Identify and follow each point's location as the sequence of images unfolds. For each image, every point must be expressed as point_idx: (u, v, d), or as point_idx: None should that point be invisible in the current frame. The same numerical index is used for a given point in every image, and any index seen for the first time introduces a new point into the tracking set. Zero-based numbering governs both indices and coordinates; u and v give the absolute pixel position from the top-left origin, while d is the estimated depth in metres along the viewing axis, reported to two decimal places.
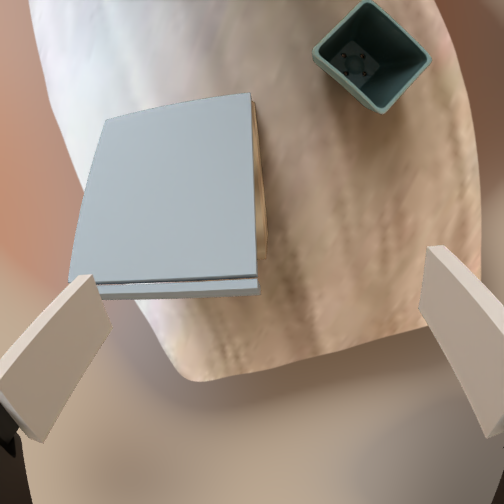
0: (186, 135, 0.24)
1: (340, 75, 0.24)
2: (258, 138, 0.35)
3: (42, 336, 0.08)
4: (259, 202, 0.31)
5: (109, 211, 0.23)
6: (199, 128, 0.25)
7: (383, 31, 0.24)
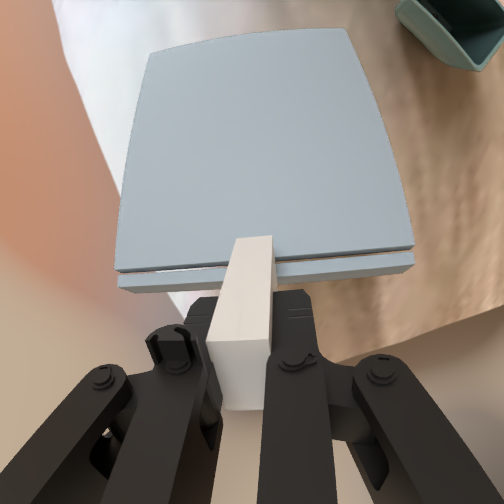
0: (277, 67, 0.17)
1: (438, 24, 0.16)
2: None
3: None
4: None
5: (175, 161, 0.16)
6: (293, 60, 0.17)
7: None
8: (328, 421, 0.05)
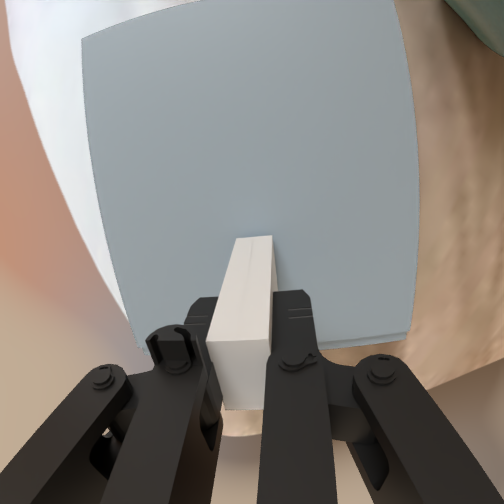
0: (286, 80, 0.11)
1: None
2: None
3: None
4: None
5: (166, 245, 0.14)
6: (310, 65, 0.11)
7: None
8: (328, 421, 0.05)
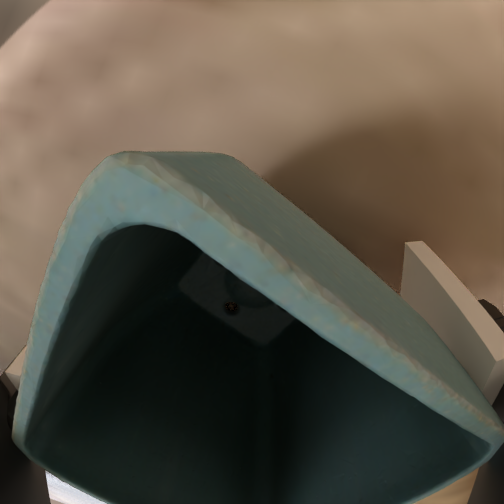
0: None
1: None
2: None
3: None
4: None
5: None
6: None
7: (101, 323, 0.07)
8: None
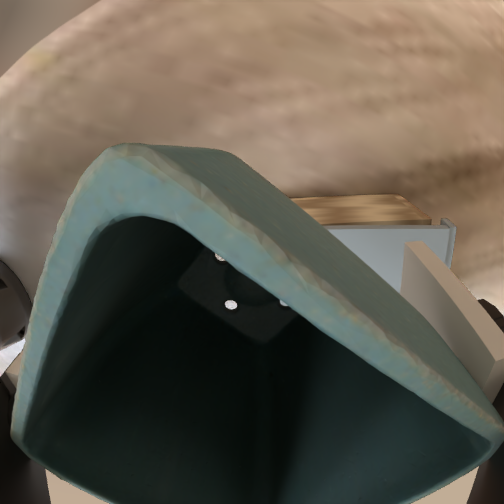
0: None
1: None
2: None
3: None
4: (363, 222, 0.23)
5: None
6: None
7: (101, 320, 0.07)
8: None
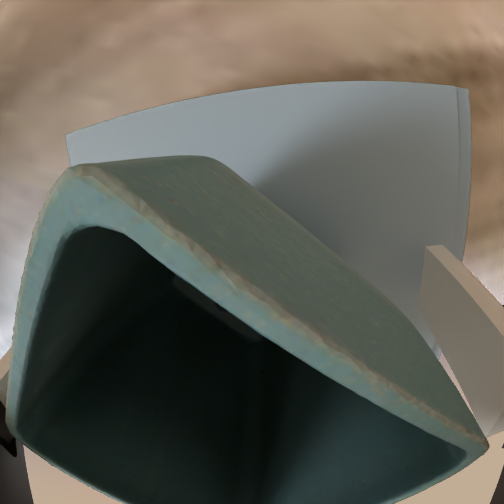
0: None
1: None
2: None
3: None
4: None
5: None
6: None
7: (91, 315, 0.07)
8: None
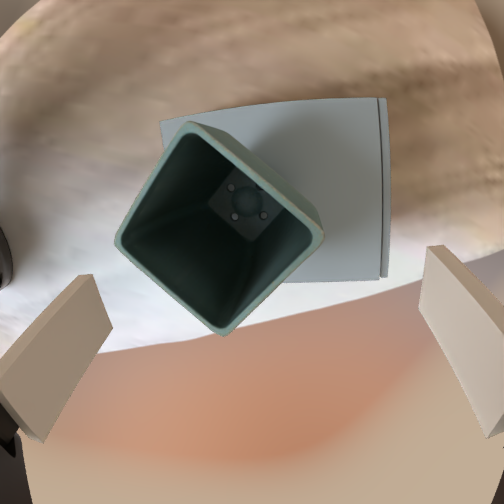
0: None
1: (256, 304, 0.17)
2: None
3: (42, 336, 0.08)
4: None
5: None
6: None
7: (170, 190, 0.19)
8: None
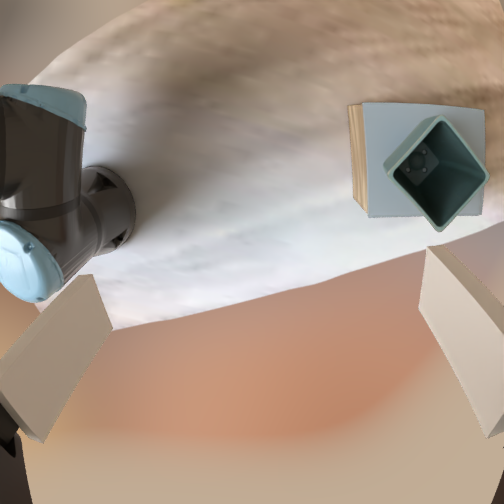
0: None
1: (460, 210, 0.27)
2: None
3: (42, 336, 0.08)
4: None
5: None
6: (396, 137, 0.33)
7: None
8: None
